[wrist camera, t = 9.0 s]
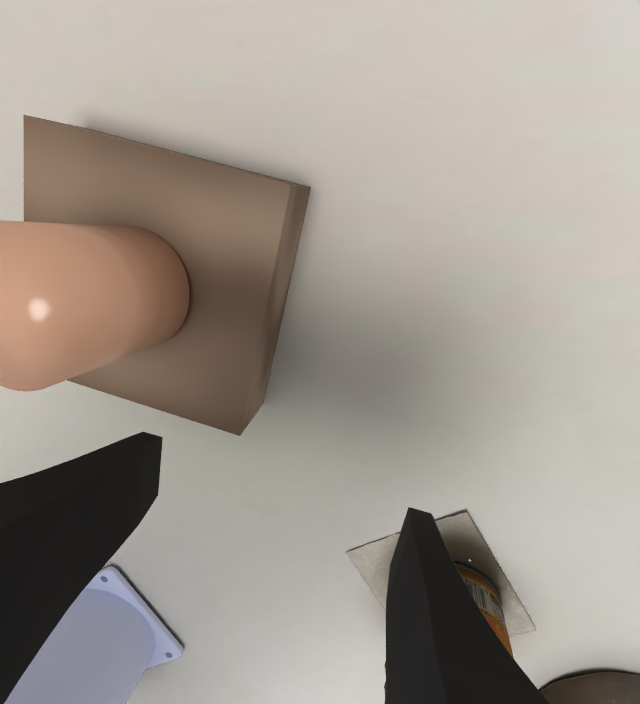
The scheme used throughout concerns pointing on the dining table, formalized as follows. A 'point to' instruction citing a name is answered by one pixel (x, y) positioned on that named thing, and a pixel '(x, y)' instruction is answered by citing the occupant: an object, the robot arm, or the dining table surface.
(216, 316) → the walnut block
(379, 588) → the condiment
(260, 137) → the dining table surface
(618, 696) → the pillar candle
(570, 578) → the dining table surface
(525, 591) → the dining table surface
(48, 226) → the terracotta cylinder
